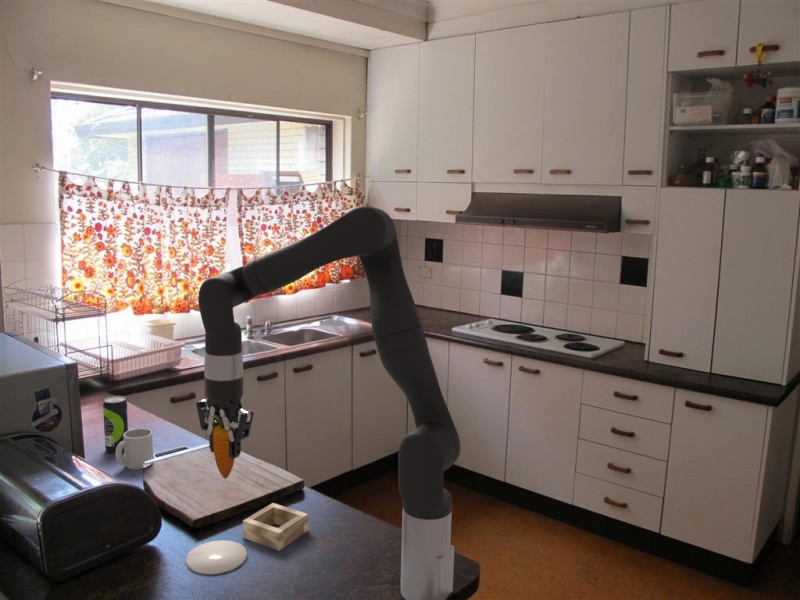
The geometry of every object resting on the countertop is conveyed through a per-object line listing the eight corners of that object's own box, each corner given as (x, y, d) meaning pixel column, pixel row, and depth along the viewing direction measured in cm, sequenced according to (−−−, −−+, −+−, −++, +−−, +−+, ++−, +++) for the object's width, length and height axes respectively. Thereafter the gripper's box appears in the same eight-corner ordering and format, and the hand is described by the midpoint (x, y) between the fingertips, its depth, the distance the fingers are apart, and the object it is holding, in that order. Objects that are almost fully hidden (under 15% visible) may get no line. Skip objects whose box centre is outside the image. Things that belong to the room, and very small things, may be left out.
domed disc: (258, 553, 146) (258, 550, 146) (217, 581, 136) (217, 578, 136) (216, 537, 152) (216, 535, 152) (173, 563, 142) (173, 560, 142)
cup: (158, 464, 189) (157, 433, 188) (123, 475, 182) (121, 443, 180) (144, 457, 194) (143, 426, 192) (109, 467, 186) (108, 436, 185)
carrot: (231, 485, 141) (230, 414, 138) (208, 481, 142) (207, 411, 139) (242, 475, 146) (241, 406, 143) (220, 471, 147) (219, 403, 144)
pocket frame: (307, 530, 156) (307, 513, 155) (279, 550, 148) (279, 533, 147) (272, 519, 161) (272, 502, 160) (243, 537, 152) (242, 520, 152)
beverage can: (129, 452, 197) (127, 401, 194) (105, 455, 194) (102, 403, 192) (128, 444, 202) (126, 394, 200) (105, 447, 200) (102, 396, 197)
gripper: (263, 375, 139) (264, 456, 142) (212, 363, 146) (213, 440, 150) (236, 384, 133) (237, 469, 136) (184, 371, 140) (186, 451, 143)
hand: (224, 453), depth 143 cm, fingers closed on carrot, 4 cm apart
